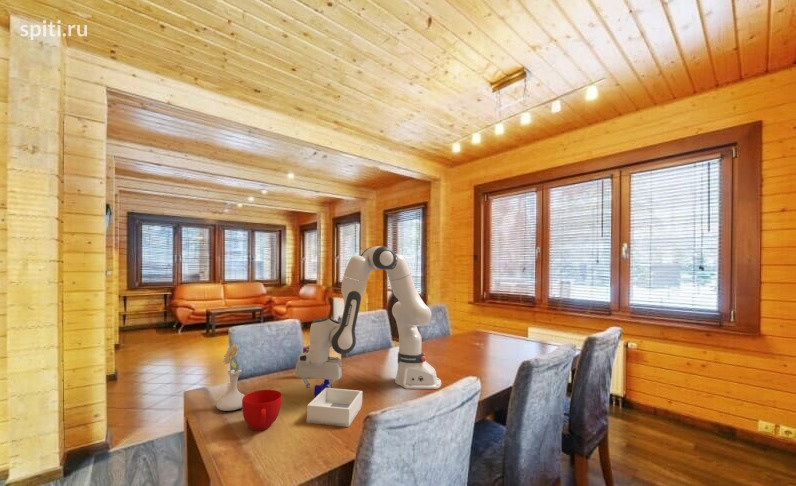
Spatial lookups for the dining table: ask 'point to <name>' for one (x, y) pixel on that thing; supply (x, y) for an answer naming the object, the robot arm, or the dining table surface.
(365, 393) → the dining table surface
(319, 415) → the walled box
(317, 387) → the blue curved block
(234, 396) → the flower in vase
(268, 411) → the ceramic cup
